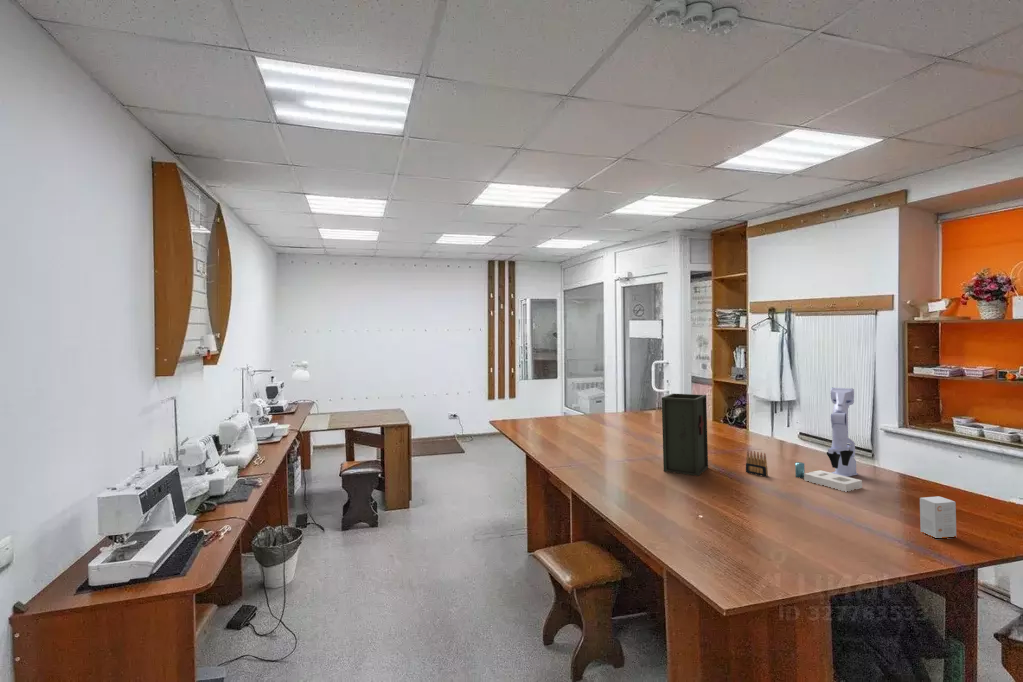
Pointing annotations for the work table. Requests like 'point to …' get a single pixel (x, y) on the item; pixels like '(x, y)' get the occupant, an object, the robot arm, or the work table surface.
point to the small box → (938, 516)
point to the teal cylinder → (799, 469)
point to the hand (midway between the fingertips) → (840, 466)
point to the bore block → (833, 480)
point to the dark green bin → (685, 433)
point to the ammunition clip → (756, 464)
